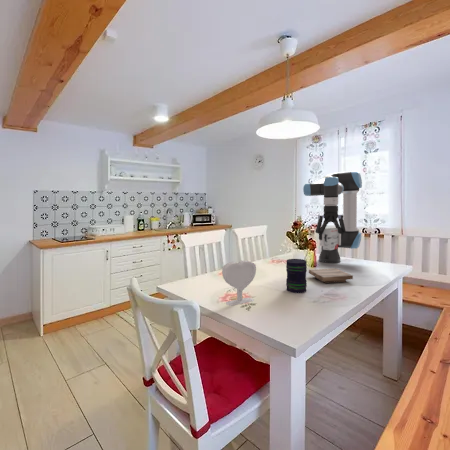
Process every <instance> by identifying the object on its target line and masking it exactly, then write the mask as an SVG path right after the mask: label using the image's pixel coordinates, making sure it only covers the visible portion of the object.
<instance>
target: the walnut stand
mask: <svg viewBox="0 0 450 450" xmlns="http://www.w3.org/2000/svg"><path fill="white" fill-rule="evenodd" d="M308 273H309V275H311V276H313V277H314V278H316V279H317V280H319V281H321V282H322V283H325V284H332V283H333V284H334V283H335V284H336V283H346V282H347V280H353V279H354V275H353V274H350V273H348V272H345V271H343V270H341V269H338V268H336V267H335V268H334V267H333V268H317V269H315V268H314V269H308Z"/></svg>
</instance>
